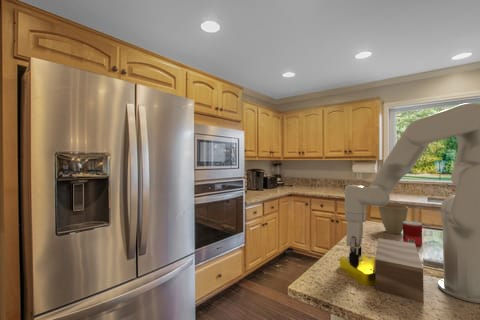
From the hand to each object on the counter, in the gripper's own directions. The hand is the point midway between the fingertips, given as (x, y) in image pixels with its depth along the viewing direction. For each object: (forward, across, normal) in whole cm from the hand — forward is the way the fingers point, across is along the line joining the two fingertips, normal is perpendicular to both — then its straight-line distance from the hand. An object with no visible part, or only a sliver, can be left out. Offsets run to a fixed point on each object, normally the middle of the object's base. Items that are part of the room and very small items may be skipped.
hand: (355, 259), depth 90 cm
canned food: (+4, -46, +21) cm, 51 cm away
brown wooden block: (+4, 0, +14) cm, 14 cm away
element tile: (+5, +1, +4) cm, 6 cm away
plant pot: (+4, -64, +13) cm, 65 cm away
